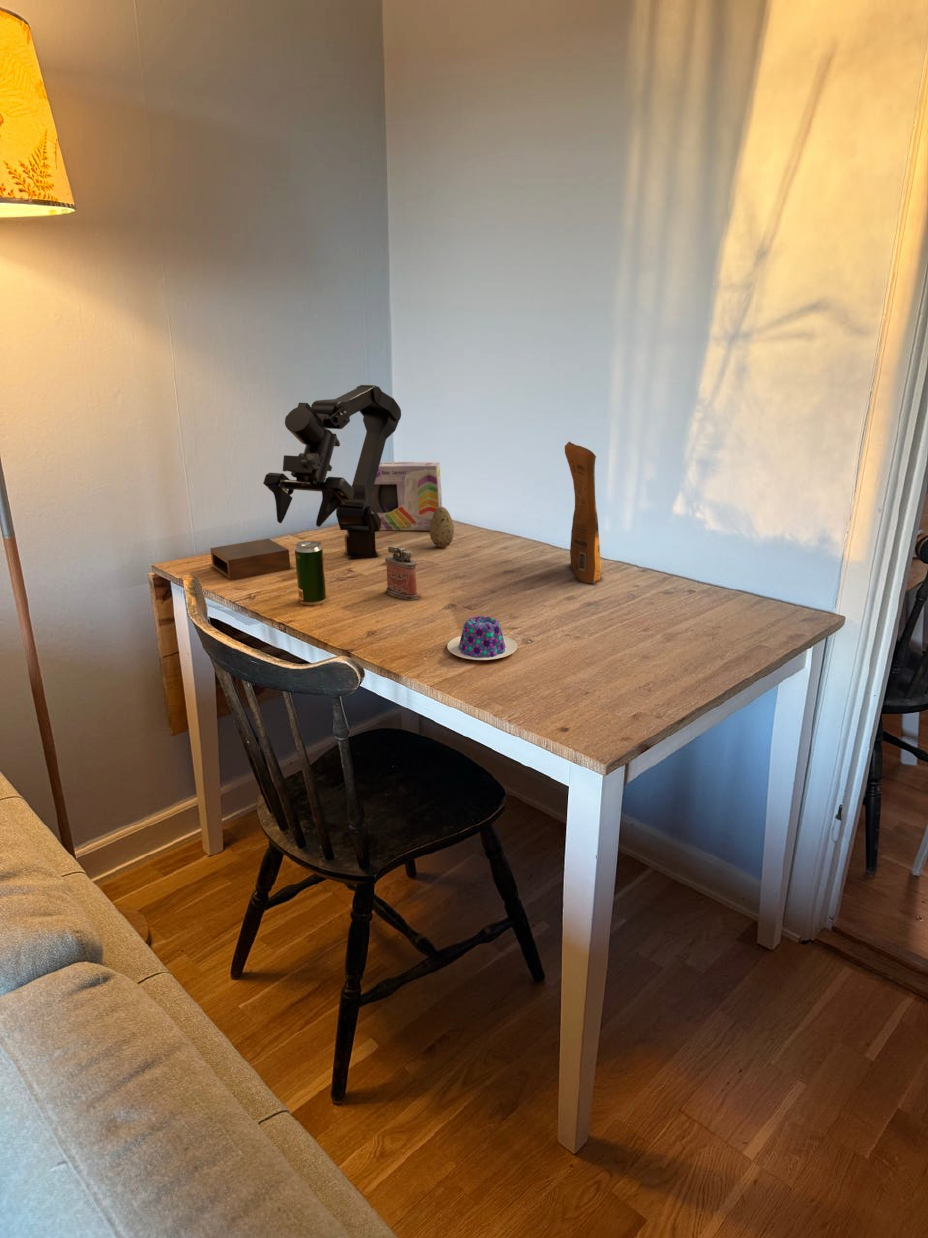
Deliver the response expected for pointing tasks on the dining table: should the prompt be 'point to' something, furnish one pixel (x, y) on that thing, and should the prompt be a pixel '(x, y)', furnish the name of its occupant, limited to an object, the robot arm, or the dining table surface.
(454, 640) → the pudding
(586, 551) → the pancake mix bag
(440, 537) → the decorative egg
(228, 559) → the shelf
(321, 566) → the beer can
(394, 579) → the lighter
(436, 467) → the cake pan box
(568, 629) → the dining table surface
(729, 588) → the dining table surface
